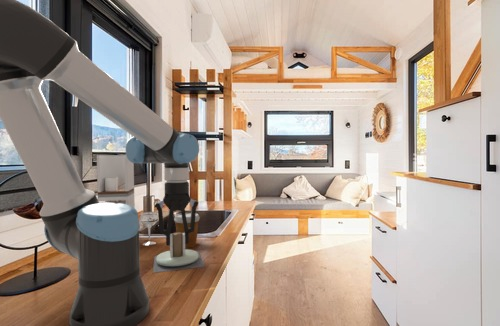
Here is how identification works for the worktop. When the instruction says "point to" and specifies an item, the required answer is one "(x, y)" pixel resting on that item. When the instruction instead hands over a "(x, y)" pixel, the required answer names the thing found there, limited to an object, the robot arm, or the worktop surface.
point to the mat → (162, 268)
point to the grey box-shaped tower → (115, 179)
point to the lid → (177, 254)
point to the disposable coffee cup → (181, 228)
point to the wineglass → (148, 222)
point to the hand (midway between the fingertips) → (177, 254)
